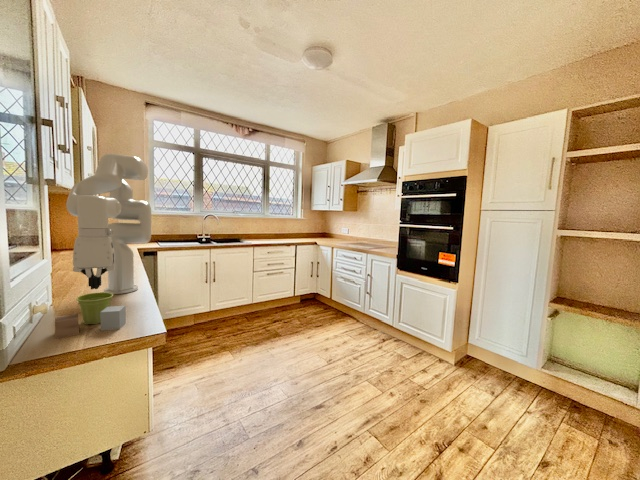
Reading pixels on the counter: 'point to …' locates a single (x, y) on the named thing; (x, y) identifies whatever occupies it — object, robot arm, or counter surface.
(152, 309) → the counter surface
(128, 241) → the robot arm
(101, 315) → the slate block
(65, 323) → the walnut block
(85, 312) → the plant pot
